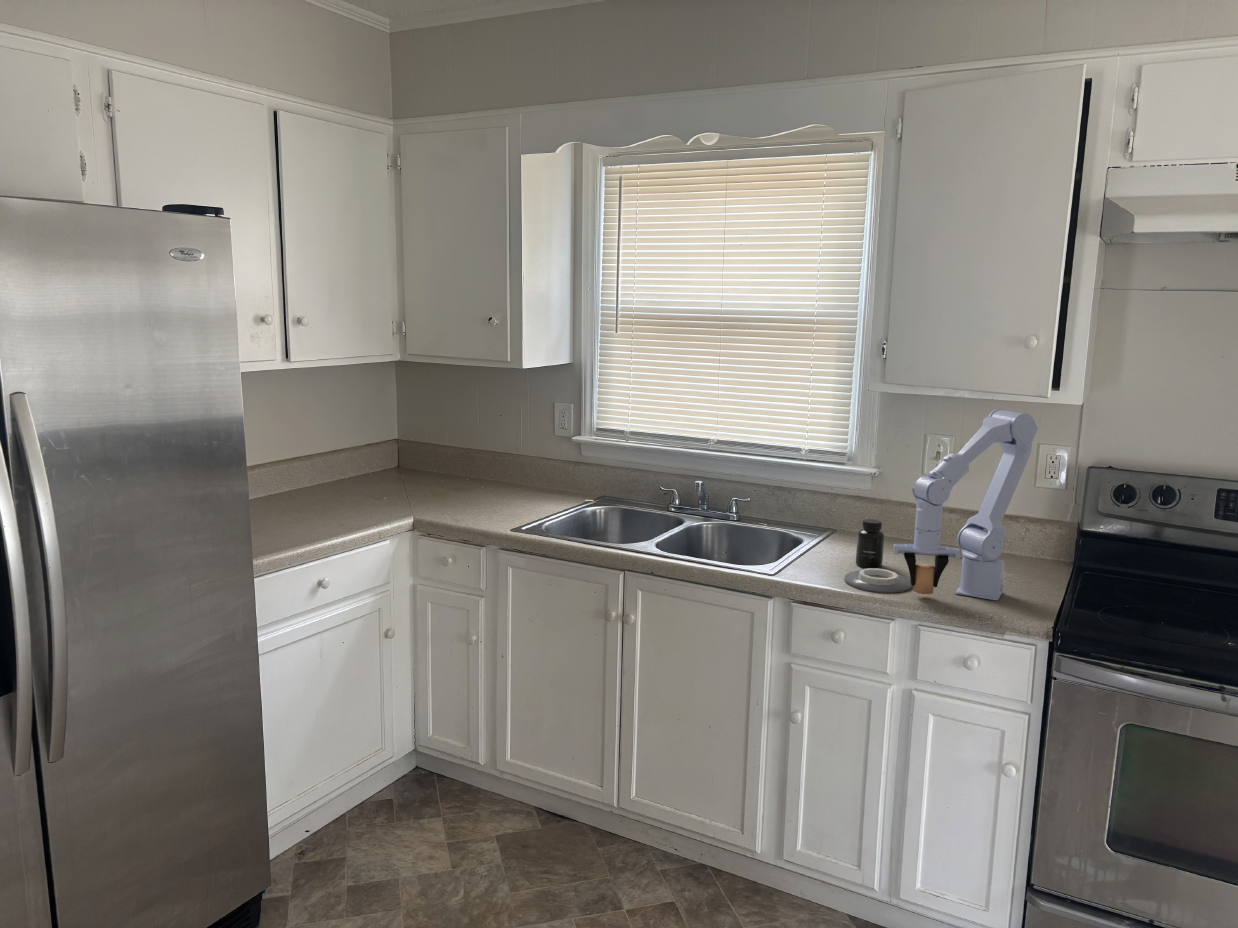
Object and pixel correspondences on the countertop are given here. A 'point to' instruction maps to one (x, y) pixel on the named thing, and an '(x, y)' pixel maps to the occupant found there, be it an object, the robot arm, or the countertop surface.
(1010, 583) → the countertop surface
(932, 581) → the tan rounded block
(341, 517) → the countertop surface
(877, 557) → the supplement bottle
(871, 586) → the tray
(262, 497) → the countertop surface
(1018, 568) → the countertop surface
